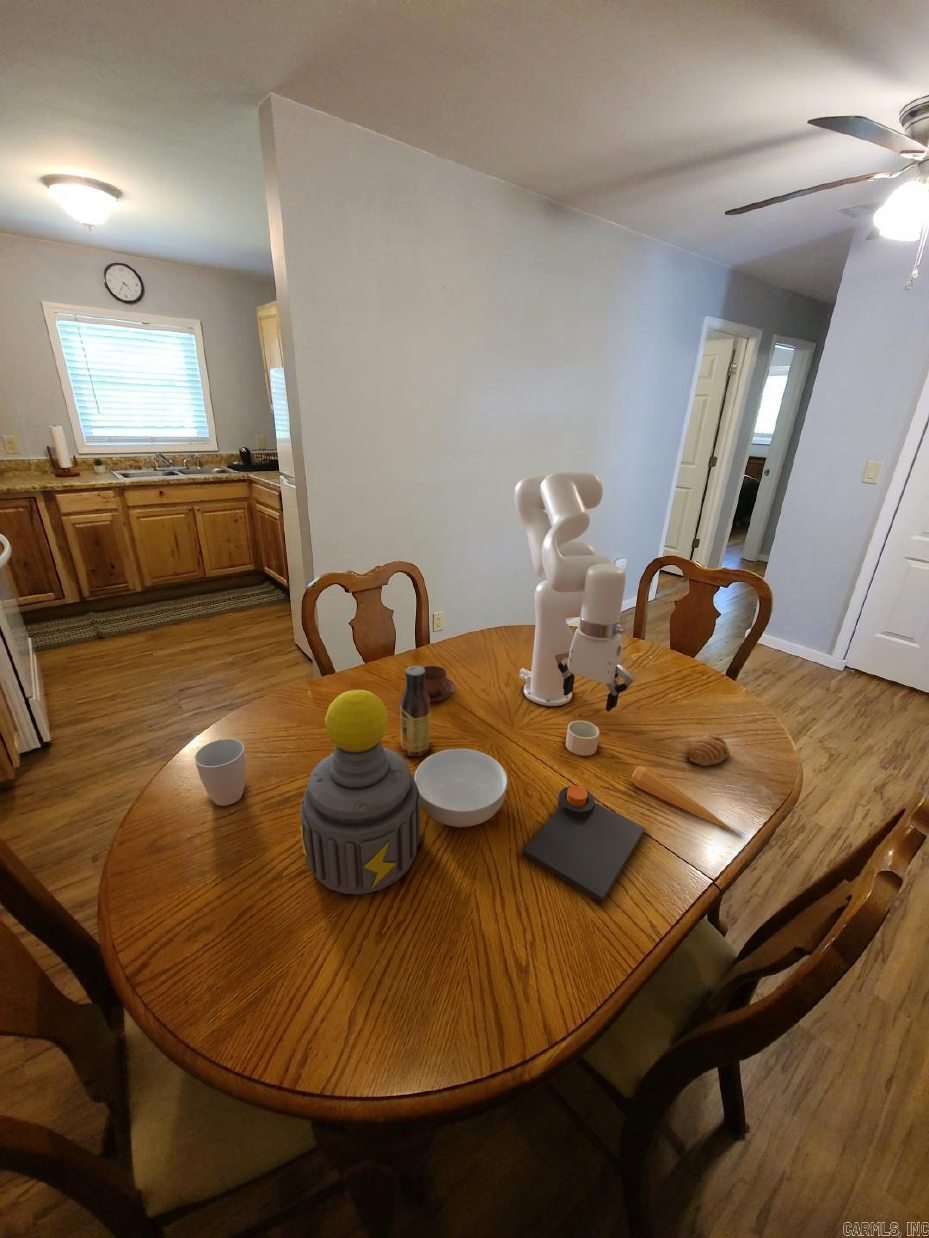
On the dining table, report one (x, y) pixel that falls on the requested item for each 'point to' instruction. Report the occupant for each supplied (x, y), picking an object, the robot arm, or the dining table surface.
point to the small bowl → (582, 738)
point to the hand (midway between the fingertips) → (588, 700)
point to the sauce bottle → (415, 713)
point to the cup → (222, 770)
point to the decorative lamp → (360, 802)
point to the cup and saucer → (438, 683)
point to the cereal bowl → (461, 787)
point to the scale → (585, 845)
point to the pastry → (708, 750)
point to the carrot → (671, 794)
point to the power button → (577, 796)
